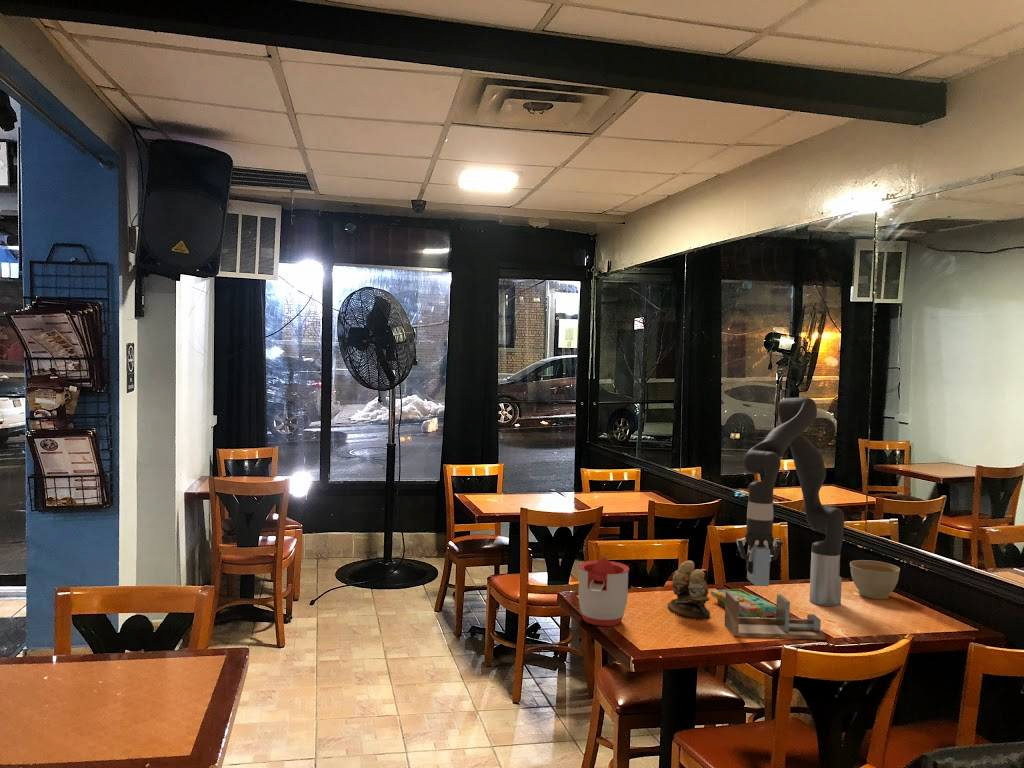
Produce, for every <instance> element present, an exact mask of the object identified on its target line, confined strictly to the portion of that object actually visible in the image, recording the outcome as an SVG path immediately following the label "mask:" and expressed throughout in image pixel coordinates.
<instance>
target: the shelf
mask: <svg viewBox="0 0 1024 768" xmlns="http://www.w3.org/2000/svg"><path fill="white" fill-rule="evenodd" d="M789 624H807V618H789ZM724 626H725V628H726V627H727V628H728V629H727V628H726V629H727V630H728V631H729V632H730V633H732V634H733V635H734V636H745V637H744V638H761V637H779V638H778V639H794V638H798V639H799V640H800V639H801V640H803V639H804V640H826V635H825V634H824V633H823V632H822V631H821V630H820V631H813V630H793V629H789V632H784V631H783V630H782V629H781V628H780V627H779V626H778V625H777V624H776V617H761V618H755V617H742V616H740V615H739V600H738V599H737V598H736V597H735V596H734V595H733V594H732V593H731V592H730V591H726V599H725V607H724ZM732 634H731V635H732ZM733 635H732V636H733ZM734 636H733V637H734Z"/></svg>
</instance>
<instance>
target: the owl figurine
mask: <svg viewBox="0 0 1024 768" xmlns="http://www.w3.org/2000/svg"><path fill="white" fill-rule="evenodd" d="M695 565H696V564H695V562H694V561H693V560H686V561H683V562H682V563H681V564H680V566H679V567H678V569H677V570H675V571H674V572H673V576H672V580H671V581H672V582H671V585H672V592H673V594H674V595H676V597H677V598H674V599H671V600H670V601H669V602H668V603H667V610H668V611H669V612H671V611H672V612H673V613H672V612H671V613H672V614H674V613H675V614H674V615H676V614H677V615H676V616H678V615H679V617H680V616H681V617H680V618H683V617H684V619H687V620H696V621H698V620H701V619H706V620H707V619H710V617H711V611H710V610H709V609H708V608H707V607H706V603H707V602H709V601H710V597H709V596H708V594H709V593H710V591H709V586H708V585H707V582H706V581H705V576H706V573H705V572H704V571H703V570H701V569H698V568H697V569H695Z"/></svg>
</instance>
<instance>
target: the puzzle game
mask: <svg viewBox="0 0 1024 768" xmlns="http://www.w3.org/2000/svg"><path fill="white" fill-rule="evenodd" d="M726 591H730V592H731V593H732V594H733V595H734V596H735V597H736V598H737V599H738V600H739V616H740V617H742V616H743V617H755V618H756V617H761V618H768V617H767V616H771V617H772V616H773V615H774V614H776V605H777V604H776V605H775V604H774V603H772V602H769V601H767V600H765V599H763V598H761V597H759V596H757V595H754V594H752V593H750V592H748V591H746V590H744V589H742V588H733V589H731V588H730V589H716V590H714V589H713V590H710V595H711V596H712V597H713V598H715V599H716V600H717V602H718V604H719V605H721V606H722V605H723V606H722V607H724V606H725V599H726Z"/></svg>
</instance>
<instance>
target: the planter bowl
mask: <svg viewBox="0 0 1024 768" xmlns="http://www.w3.org/2000/svg"><path fill="white" fill-rule="evenodd" d="M849 567H850V574H851V579H852V581H853V584H854V586H855V587H856V589H857V590H858V593H859V595H861V596H862V597H864V596H865V598H867V599H871V598H872V599H874V600H886V599H889V596H890V594H891V593H892V592H893V591H894V589H895V588H896V586H897V584H898V581H899V579H900V577H899V576H900V573H901V568H900V567H899V566H897V565H894V564H891V563H887V562H883V561H877V560H869V559H868V560H866V559H865V560H864V559H861V560H860V559H859V560H852V561H850V562H849Z"/></svg>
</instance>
